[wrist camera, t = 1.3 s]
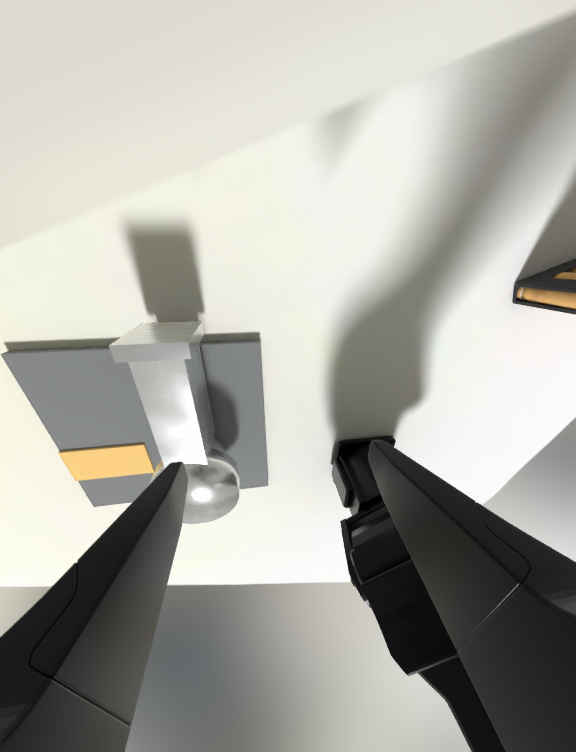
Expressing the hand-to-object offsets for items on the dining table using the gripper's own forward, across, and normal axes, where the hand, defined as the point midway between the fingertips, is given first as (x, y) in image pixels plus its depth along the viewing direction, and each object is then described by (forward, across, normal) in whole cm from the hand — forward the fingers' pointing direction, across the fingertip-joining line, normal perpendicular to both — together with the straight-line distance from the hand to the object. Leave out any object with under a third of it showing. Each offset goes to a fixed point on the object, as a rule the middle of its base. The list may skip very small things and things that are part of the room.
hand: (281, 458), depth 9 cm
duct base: (+12, +9, +8) cm, 17 cm away
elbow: (+11, +6, +6) cm, 14 cm away
